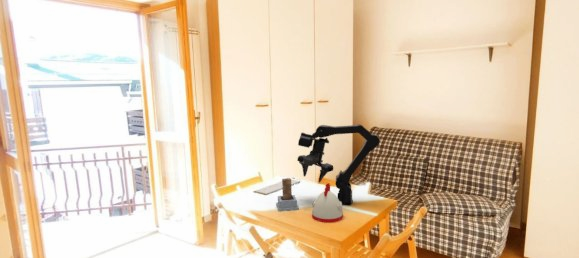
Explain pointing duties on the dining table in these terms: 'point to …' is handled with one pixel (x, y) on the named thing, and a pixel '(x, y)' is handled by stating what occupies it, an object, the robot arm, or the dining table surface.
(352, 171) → the robot arm
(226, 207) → the dining table surface
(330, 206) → the kitchen timer
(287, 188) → the brown wooden block
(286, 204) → the end cap
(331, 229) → the dining table surface
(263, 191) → the baseboard molding
